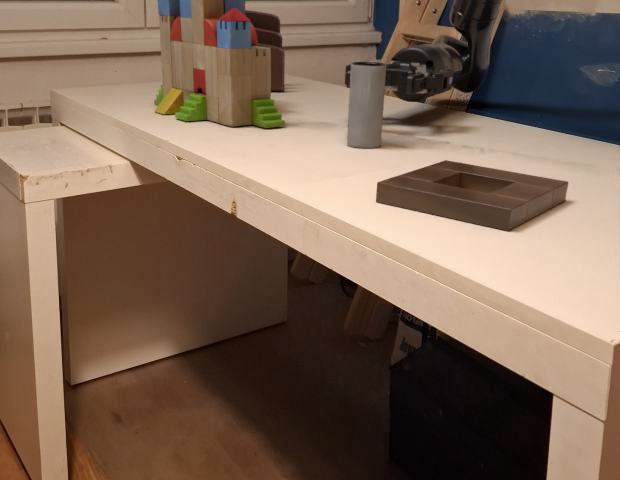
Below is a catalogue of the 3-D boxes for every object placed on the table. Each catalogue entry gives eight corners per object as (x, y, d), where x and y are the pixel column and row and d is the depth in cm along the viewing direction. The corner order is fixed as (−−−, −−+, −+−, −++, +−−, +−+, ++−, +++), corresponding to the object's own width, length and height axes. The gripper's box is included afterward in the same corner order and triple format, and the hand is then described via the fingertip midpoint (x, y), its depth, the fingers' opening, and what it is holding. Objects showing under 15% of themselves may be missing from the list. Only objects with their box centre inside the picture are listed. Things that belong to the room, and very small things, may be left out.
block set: (303, 125, 113) (307, -17, 105) (222, 133, 105) (219, -20, 97) (207, 100, 133) (204, -21, 125) (133, 105, 125) (124, -24, 117)
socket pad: (443, 177, 86) (445, 159, 85) (565, 200, 78) (568, 181, 77) (375, 201, 75) (376, 182, 75) (508, 231, 68) (511, 209, 67)
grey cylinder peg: (342, 142, 103) (346, 61, 98) (374, 141, 104) (379, 61, 99) (352, 148, 99) (357, 65, 94) (385, 148, 100) (391, 65, 95)
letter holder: (181, 84, 151) (177, 7, 145) (279, 85, 154) (280, 10, 148) (180, 91, 142) (176, 9, 136) (284, 92, 145) (285, 12, 139)
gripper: (378, 41, 112) (330, 48, 99) (471, 48, 107) (433, 55, 94) (375, 94, 116) (328, 107, 103) (465, 103, 110) (427, 118, 97)
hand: (378, 82), depth 98 cm, fingers open, 8 cm apart
